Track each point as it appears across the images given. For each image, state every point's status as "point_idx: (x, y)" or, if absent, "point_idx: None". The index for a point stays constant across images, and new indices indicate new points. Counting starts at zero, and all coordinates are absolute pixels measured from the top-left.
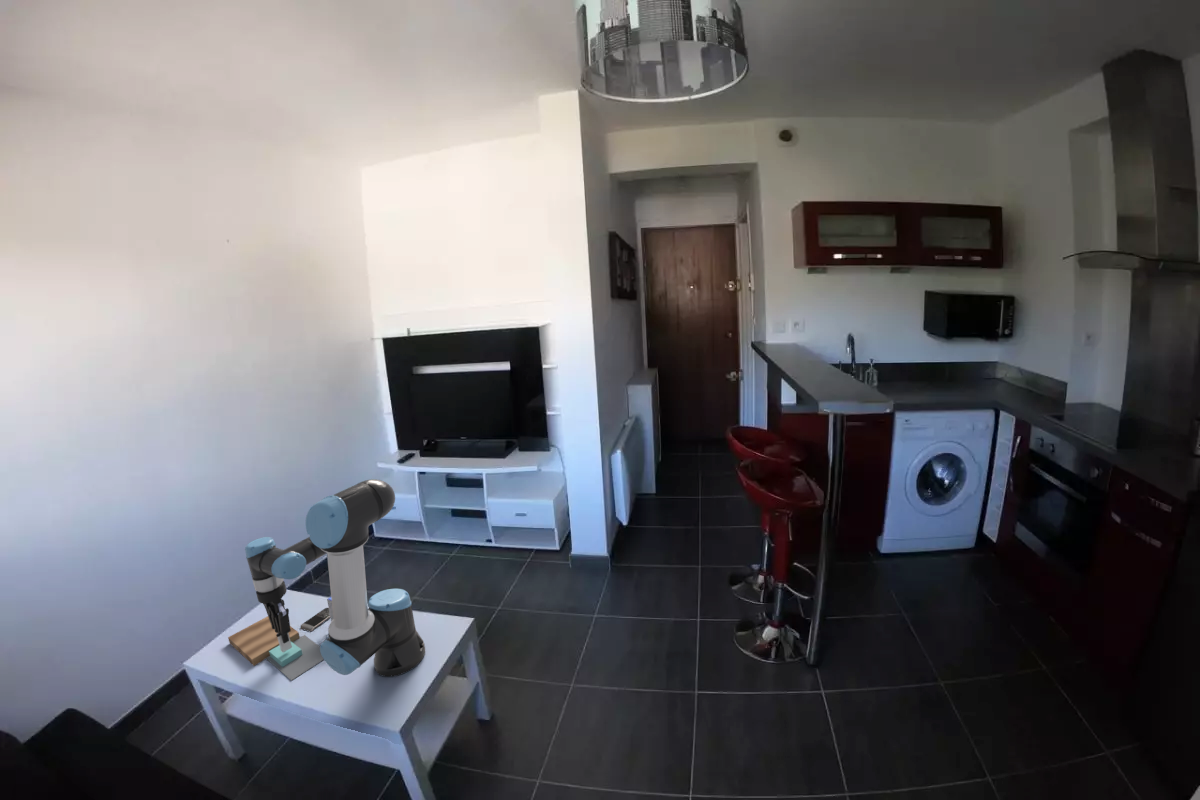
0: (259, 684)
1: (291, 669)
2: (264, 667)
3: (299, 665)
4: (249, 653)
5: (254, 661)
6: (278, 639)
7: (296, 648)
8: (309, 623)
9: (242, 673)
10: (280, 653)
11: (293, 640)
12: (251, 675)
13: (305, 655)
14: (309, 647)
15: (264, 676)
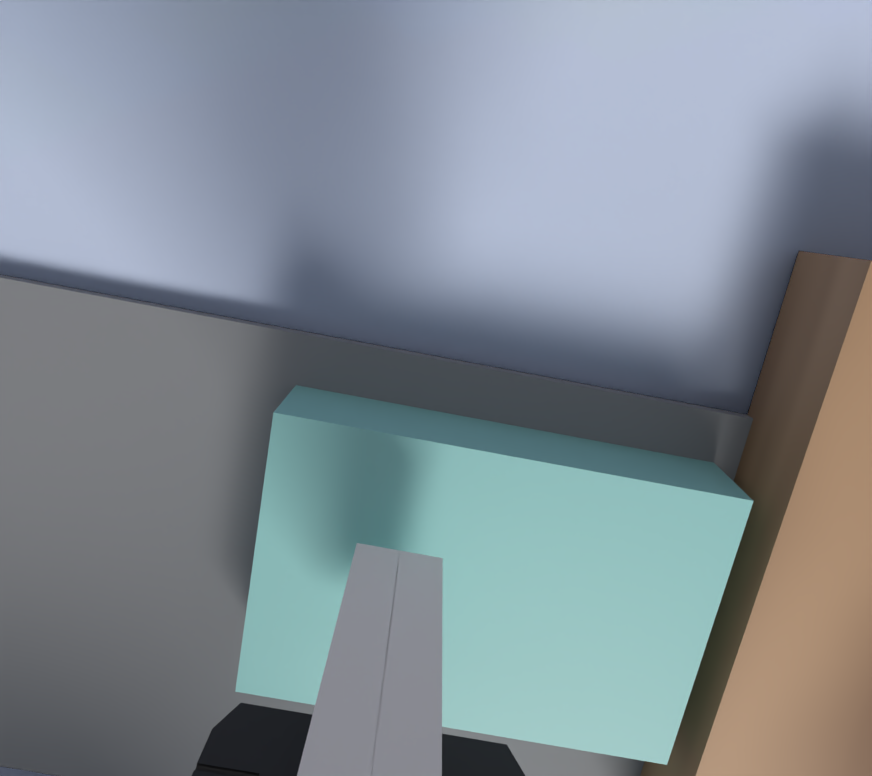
0: (304, 22)
1: (114, 397)
2: (594, 290)
3: (81, 486)
4: None
5: (827, 279)
6: (395, 759)
7: None
8: None
9: (838, 76)
10: (489, 530)
11: (650, 764)
12: (637, 103)
13: (204, 634)
14: None
15: (401, 166)
